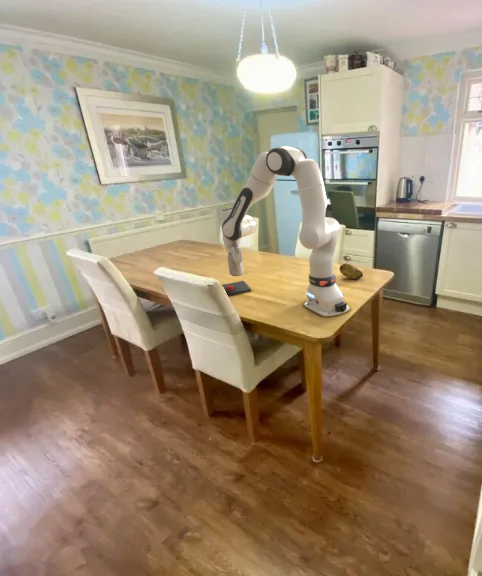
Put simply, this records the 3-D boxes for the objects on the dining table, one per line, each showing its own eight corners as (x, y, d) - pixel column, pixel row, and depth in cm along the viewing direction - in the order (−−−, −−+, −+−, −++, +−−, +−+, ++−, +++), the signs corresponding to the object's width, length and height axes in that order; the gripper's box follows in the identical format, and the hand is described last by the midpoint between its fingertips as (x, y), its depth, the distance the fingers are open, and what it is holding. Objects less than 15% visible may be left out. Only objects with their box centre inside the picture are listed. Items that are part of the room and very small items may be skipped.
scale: (251, 292, 166) (250, 286, 165) (226, 297, 160) (225, 291, 159) (243, 282, 178) (242, 277, 177) (220, 287, 173) (219, 282, 171)
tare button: (233, 289, 162) (233, 286, 162) (227, 291, 161) (227, 287, 160) (232, 287, 165) (231, 284, 164) (226, 289, 164) (225, 285, 163)
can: (240, 277, 165) (237, 255, 161) (227, 276, 167) (224, 254, 162) (246, 272, 172) (243, 250, 167) (233, 271, 174) (230, 250, 169)
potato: (356, 282, 174) (356, 268, 171) (337, 277, 182) (337, 264, 179) (364, 278, 180) (364, 264, 177) (345, 273, 187) (345, 260, 184)
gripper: (244, 244, 155) (247, 270, 160) (233, 235, 172) (237, 260, 177) (231, 245, 152) (234, 273, 158) (221, 237, 169) (225, 262, 175)
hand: (235, 266), depth 168 cm, fingers closed on can, 7 cm apart
